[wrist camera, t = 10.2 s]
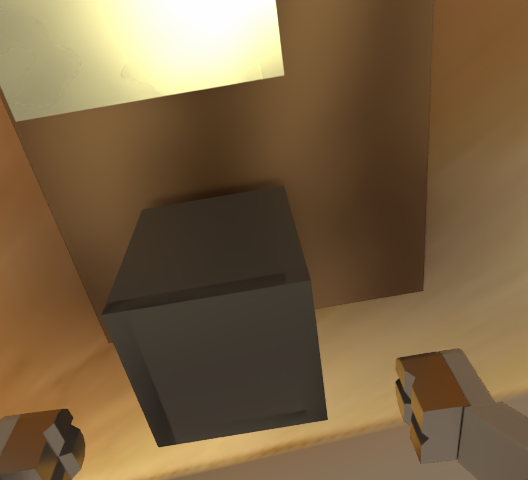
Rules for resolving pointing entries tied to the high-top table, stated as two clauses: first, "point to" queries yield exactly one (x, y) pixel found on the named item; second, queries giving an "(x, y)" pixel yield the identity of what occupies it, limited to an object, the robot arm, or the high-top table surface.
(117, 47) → the pale green block
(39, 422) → the robot arm
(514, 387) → the high-top table surface
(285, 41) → the walnut board
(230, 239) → the dark grey paneled cube
